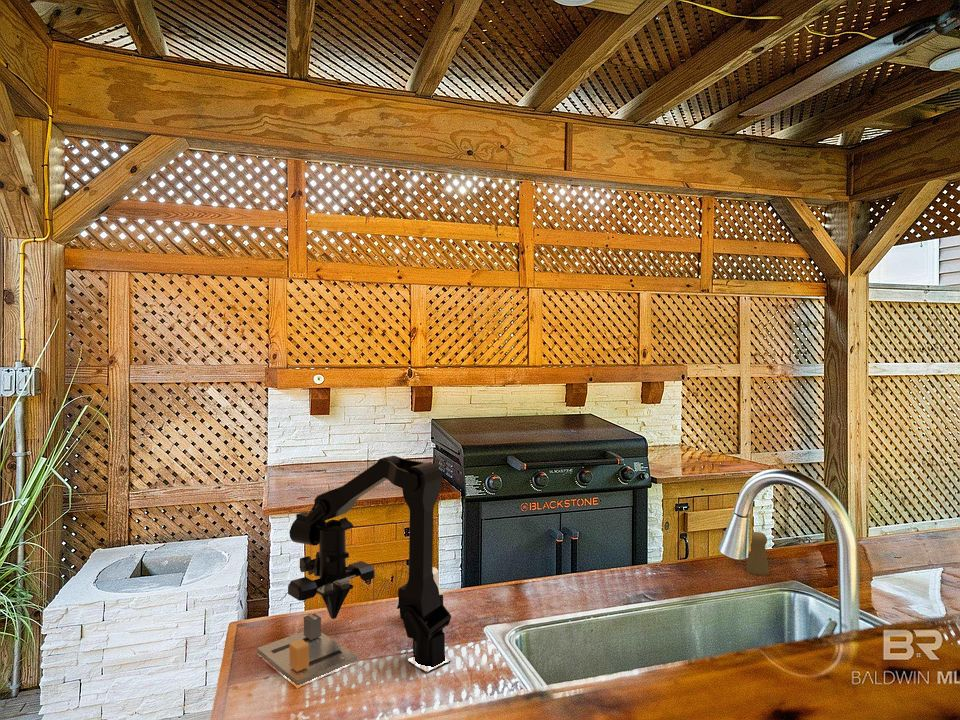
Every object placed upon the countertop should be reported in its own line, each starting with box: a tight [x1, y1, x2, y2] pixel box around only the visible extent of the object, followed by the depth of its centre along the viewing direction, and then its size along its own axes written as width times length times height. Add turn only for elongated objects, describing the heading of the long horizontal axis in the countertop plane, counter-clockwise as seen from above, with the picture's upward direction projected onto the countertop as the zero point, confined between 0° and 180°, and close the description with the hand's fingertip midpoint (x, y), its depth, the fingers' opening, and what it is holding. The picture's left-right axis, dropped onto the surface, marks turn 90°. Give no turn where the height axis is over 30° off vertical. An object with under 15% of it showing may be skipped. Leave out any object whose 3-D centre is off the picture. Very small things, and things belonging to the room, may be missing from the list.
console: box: [256, 630, 359, 685], centre depth 118 cm, size 18×13×2 cm
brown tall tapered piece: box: [745, 531, 770, 576], centre depth 164 cm, size 6×6×11 cm
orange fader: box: [290, 639, 309, 672], centre depth 111 cm, size 3×2×4 cm
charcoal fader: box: [303, 612, 322, 640], centre depth 124 cm, size 3×2×4 cm
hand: (333, 618), depth 128 cm, fingers closed
